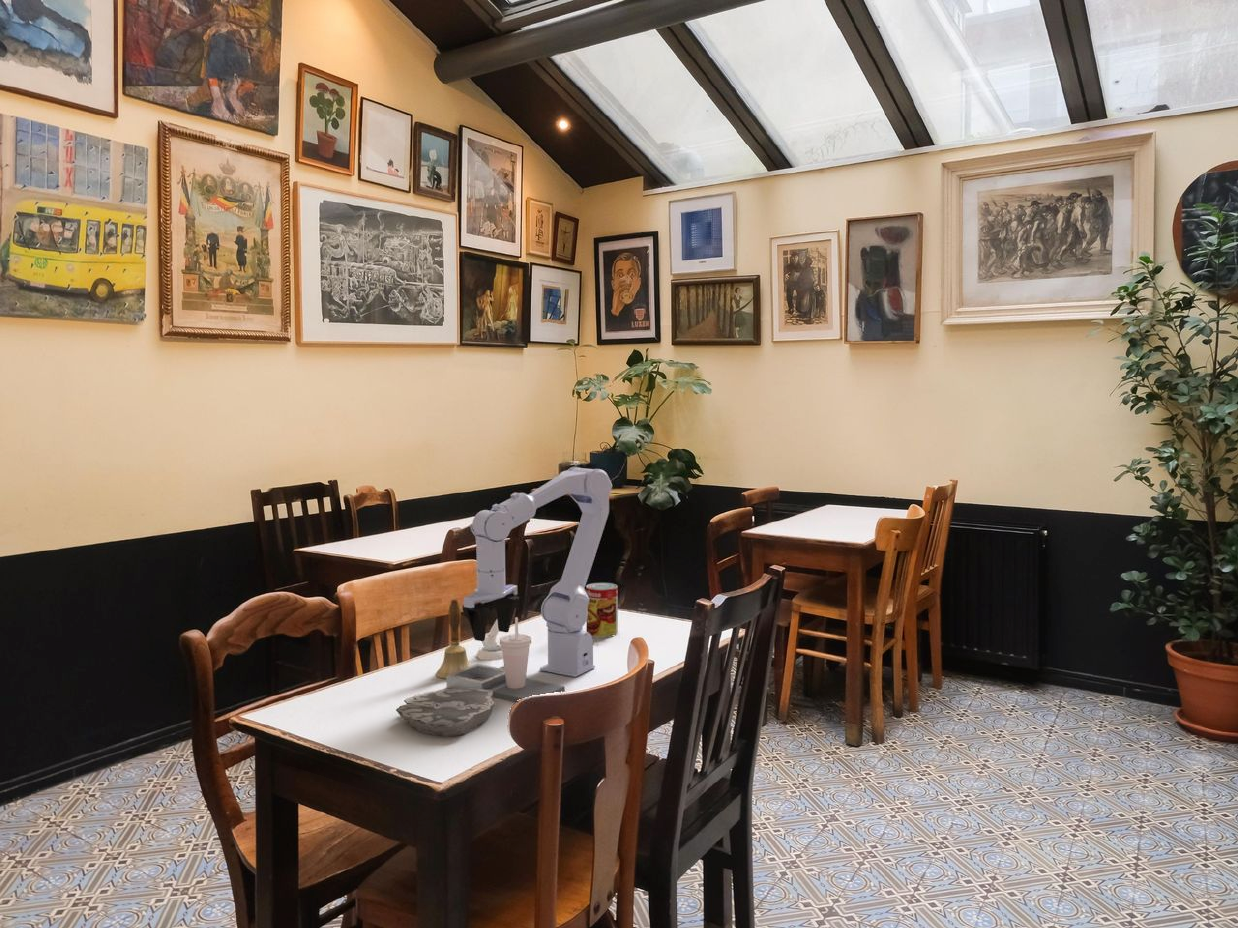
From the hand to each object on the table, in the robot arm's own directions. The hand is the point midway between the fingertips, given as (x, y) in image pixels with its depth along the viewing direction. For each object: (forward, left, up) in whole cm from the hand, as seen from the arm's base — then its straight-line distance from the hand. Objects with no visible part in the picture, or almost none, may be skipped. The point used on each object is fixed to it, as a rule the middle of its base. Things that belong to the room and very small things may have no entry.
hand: (491, 635), depth 177 cm
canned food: (+3, -46, -11) cm, 47 cm away
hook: (+14, -17, -11) cm, 24 cm away
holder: (+3, -1, -10) cm, 11 cm away
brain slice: (-5, +19, -11) cm, 22 cm away
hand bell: (+12, -2, -11) cm, 16 cm away
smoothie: (-6, 0, -10) cm, 11 cm away
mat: (-9, 0, -10) cm, 14 cm away
